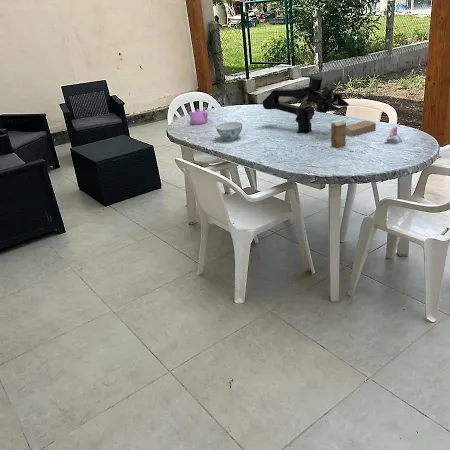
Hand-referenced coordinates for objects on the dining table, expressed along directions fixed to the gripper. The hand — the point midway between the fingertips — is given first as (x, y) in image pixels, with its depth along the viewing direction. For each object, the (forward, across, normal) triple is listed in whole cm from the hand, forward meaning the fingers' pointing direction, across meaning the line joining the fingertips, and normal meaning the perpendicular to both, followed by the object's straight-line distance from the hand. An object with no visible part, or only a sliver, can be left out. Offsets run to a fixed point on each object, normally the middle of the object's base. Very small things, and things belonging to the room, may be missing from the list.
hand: (343, 107), depth 228 cm
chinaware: (-50, -29, +28) cm, 64 cm away
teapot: (-95, -11, +38) cm, 103 cm away
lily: (+28, +3, +10) cm, 30 cm away
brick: (+6, +11, +15) cm, 20 cm away
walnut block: (+9, -14, +14) cm, 21 cm away
